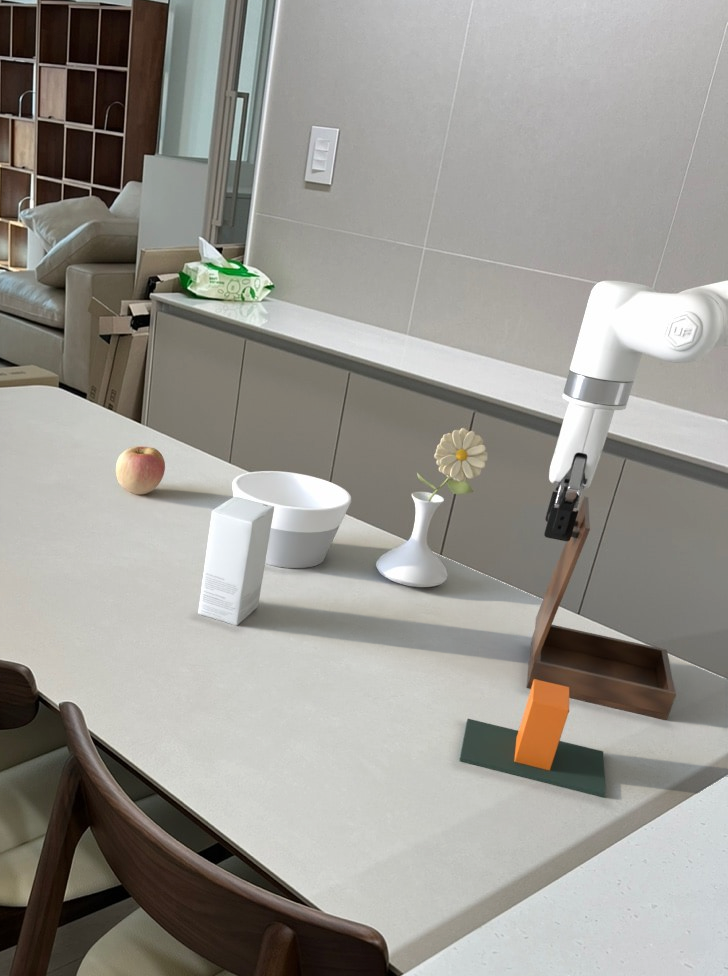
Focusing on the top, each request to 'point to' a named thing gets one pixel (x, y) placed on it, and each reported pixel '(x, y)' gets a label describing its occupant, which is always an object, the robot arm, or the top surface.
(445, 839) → the top surface
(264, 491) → the bowl
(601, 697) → the chest
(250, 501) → the cosmetic box
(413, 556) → the flower in vase
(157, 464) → the apple
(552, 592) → the lid
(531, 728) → the orange block
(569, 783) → the mat
